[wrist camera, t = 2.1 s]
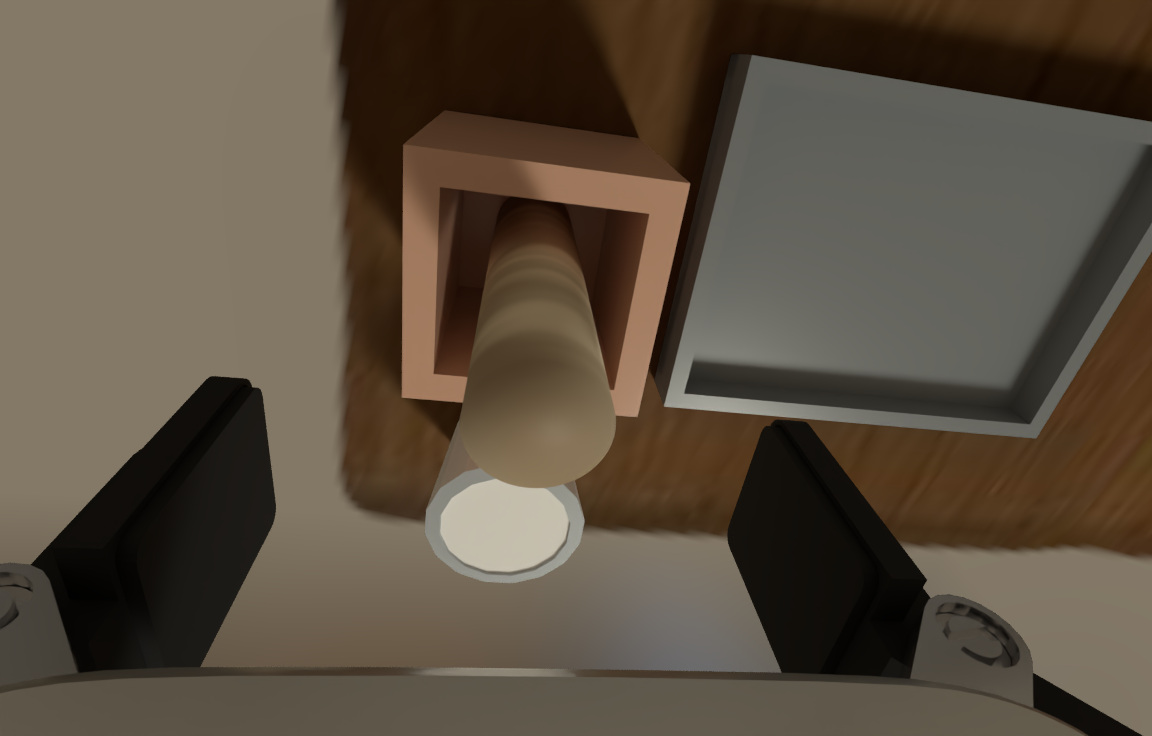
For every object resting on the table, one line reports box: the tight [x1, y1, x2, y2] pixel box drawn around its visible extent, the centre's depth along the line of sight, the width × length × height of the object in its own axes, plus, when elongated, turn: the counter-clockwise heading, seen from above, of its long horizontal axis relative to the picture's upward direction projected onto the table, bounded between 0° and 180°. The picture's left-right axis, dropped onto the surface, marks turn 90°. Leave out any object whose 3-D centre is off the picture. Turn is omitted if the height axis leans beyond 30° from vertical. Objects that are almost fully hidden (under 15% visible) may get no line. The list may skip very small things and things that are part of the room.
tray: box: [654, 54, 1152, 438], centre depth 27 cm, size 20×15×2 cm
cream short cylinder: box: [425, 419, 584, 583], centre depth 29 cm, size 7×7×7 cm
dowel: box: [460, 196, 616, 488], centre depth 19 cm, size 3×3×15 cm
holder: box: [402, 110, 690, 417], centre depth 22 cm, size 8×8×9 cm
